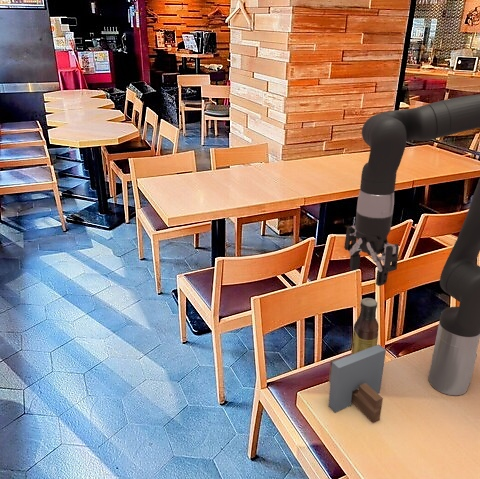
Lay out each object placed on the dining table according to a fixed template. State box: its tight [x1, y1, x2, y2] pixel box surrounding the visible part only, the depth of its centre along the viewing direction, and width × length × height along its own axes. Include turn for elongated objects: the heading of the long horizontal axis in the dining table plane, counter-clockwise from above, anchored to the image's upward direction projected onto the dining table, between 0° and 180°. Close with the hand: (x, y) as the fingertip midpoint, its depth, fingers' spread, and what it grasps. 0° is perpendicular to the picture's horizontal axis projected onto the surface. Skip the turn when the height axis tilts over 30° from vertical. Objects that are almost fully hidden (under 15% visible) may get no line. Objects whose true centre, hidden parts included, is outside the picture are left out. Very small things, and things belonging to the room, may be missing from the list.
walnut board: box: [328, 358, 384, 424], centre depth 109 cm, size 2×16×6 cm, turn 28°
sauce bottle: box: [350, 297, 379, 355], centre depth 119 cm, size 7×6×20 cm
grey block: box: [328, 343, 387, 414], centre depth 108 cm, size 14×2×13 cm, turn 118°
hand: (366, 276), depth 105 cm, fingers open, 8 cm apart
